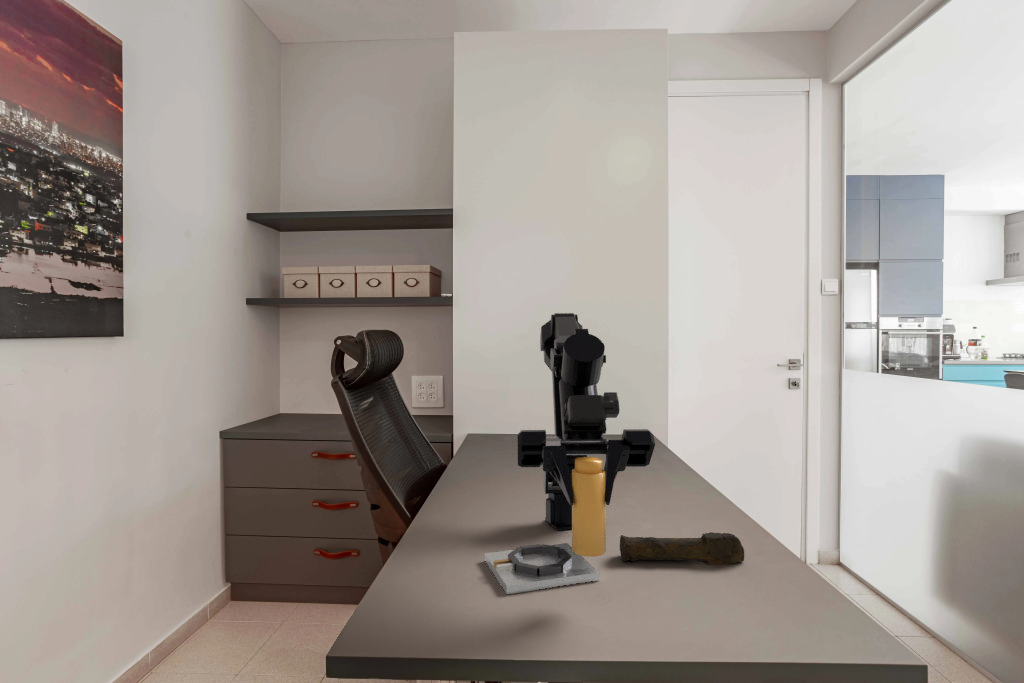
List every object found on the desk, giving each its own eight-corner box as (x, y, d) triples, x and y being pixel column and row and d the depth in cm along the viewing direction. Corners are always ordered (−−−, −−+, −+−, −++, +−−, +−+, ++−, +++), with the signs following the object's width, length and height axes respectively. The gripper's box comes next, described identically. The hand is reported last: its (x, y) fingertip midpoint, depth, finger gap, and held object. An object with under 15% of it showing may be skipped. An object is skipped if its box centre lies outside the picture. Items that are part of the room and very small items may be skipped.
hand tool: (620, 566, 87) (620, 536, 87) (618, 555, 91) (618, 527, 91) (749, 571, 85) (749, 541, 85) (741, 561, 89) (741, 531, 89)
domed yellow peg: (596, 542, 78) (596, 455, 78) (611, 554, 74) (611, 462, 74) (567, 545, 77) (566, 457, 77) (580, 558, 73) (579, 464, 72)
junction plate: (567, 550, 93) (567, 536, 93) (599, 580, 82) (599, 565, 82) (484, 561, 89) (484, 547, 89) (506, 594, 78) (506, 578, 78)
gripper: (517, 372, 79) (518, 471, 68) (651, 371, 79) (674, 470, 68) (517, 420, 87) (518, 515, 76) (639, 419, 87) (657, 514, 76)
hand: (589, 503), depth 74 cm, fingers closed on domed yellow peg, 4 cm apart
